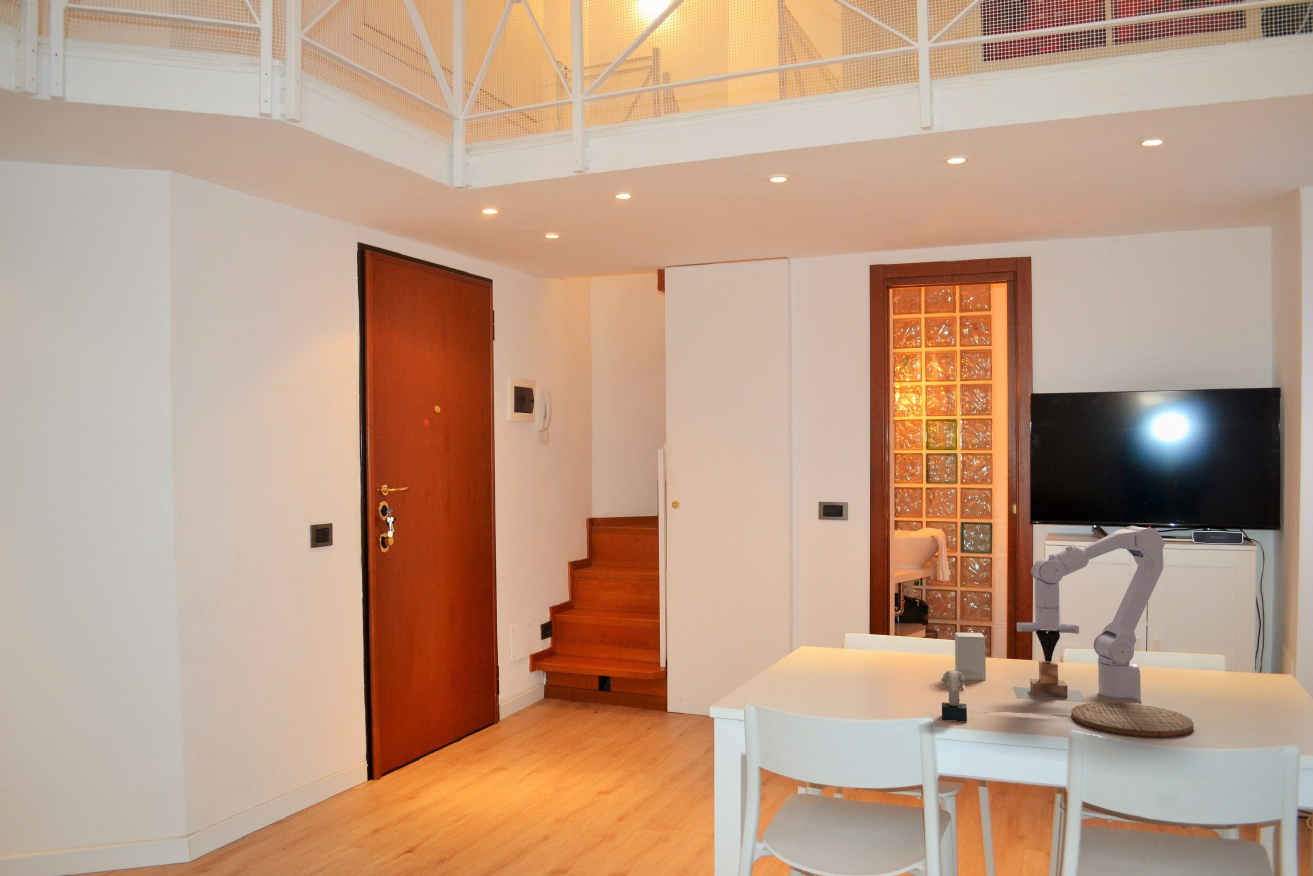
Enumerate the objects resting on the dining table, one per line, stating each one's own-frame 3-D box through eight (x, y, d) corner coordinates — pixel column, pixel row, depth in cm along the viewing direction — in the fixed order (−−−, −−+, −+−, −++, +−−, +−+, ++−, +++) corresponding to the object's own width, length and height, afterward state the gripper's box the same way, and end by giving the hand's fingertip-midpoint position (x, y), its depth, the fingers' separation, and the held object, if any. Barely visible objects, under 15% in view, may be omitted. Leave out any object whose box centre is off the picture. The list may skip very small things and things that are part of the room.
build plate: (1078, 694, 246) (1078, 690, 246) (1087, 705, 235) (1087, 701, 235) (1012, 691, 250) (1012, 687, 251) (1017, 702, 239) (1017, 698, 239)
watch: (966, 715, 227) (965, 668, 227) (967, 724, 219) (966, 675, 219) (941, 713, 228) (940, 667, 229) (941, 722, 221) (940, 674, 221)
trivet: (1207, 743, 204) (1207, 734, 204) (1080, 735, 211) (1080, 726, 211) (1177, 714, 228) (1177, 706, 228) (1064, 707, 235) (1064, 699, 235)
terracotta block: (1055, 681, 244) (1055, 661, 244) (1058, 684, 240) (1057, 664, 240) (1039, 680, 245) (1038, 660, 245) (1041, 683, 241) (1040, 663, 241)
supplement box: (986, 684, 258) (985, 637, 259) (957, 683, 260) (957, 636, 260) (982, 678, 266) (982, 632, 266) (954, 677, 267) (954, 631, 267)
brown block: (1063, 692, 245) (1063, 680, 245) (1067, 697, 239) (1067, 685, 239) (1030, 690, 247) (1030, 678, 247) (1033, 696, 241) (1033, 684, 241)
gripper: (1018, 608, 241) (1019, 662, 241) (1080, 610, 238) (1081, 665, 237) (1015, 604, 248) (1016, 657, 248) (1076, 606, 244) (1077, 659, 244)
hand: (1048, 660), depth 243 cm, fingers closed
